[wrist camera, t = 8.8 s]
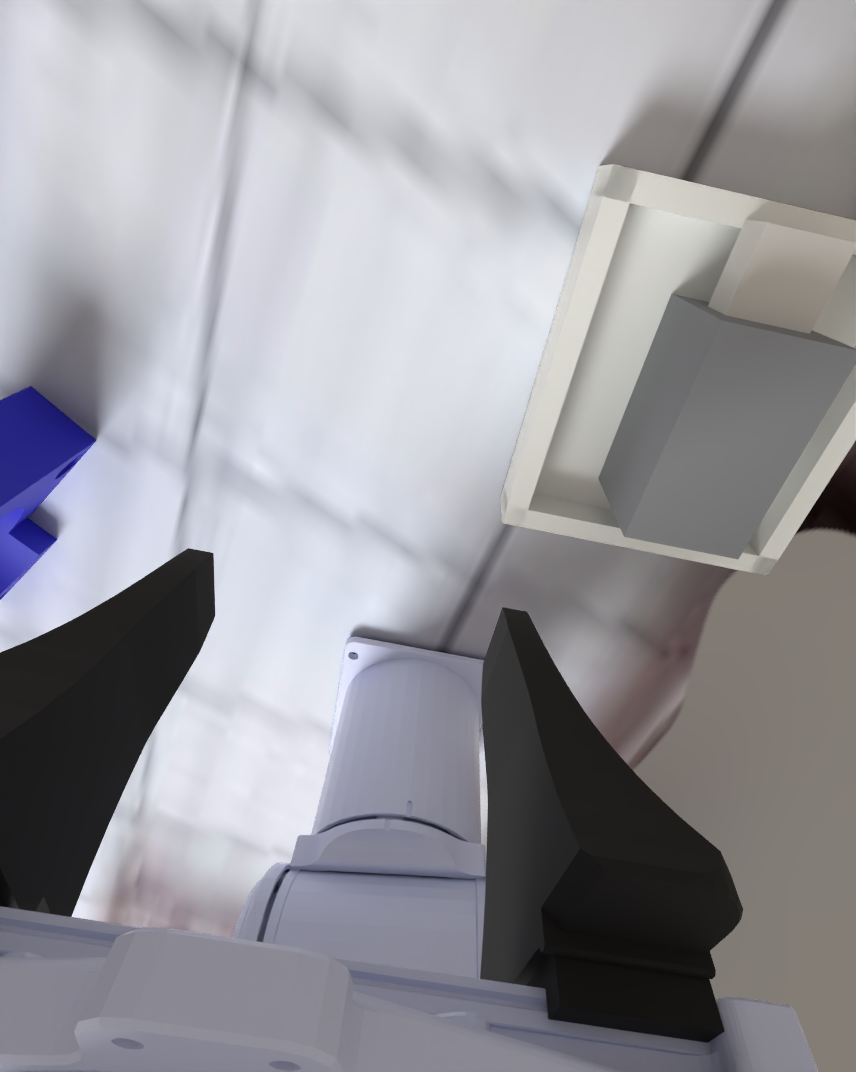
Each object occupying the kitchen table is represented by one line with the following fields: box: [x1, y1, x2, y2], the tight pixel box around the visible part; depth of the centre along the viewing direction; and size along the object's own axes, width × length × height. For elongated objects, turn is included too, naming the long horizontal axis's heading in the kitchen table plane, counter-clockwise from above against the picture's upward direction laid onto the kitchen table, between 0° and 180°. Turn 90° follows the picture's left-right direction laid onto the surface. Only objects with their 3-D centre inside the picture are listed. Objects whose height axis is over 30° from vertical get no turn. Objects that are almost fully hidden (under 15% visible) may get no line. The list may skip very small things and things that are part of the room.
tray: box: [500, 164, 856, 576], centre depth 20 cm, size 12×11×2 cm
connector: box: [598, 220, 856, 559], centre depth 18 cm, size 9×4×4 cm, turn 169°
